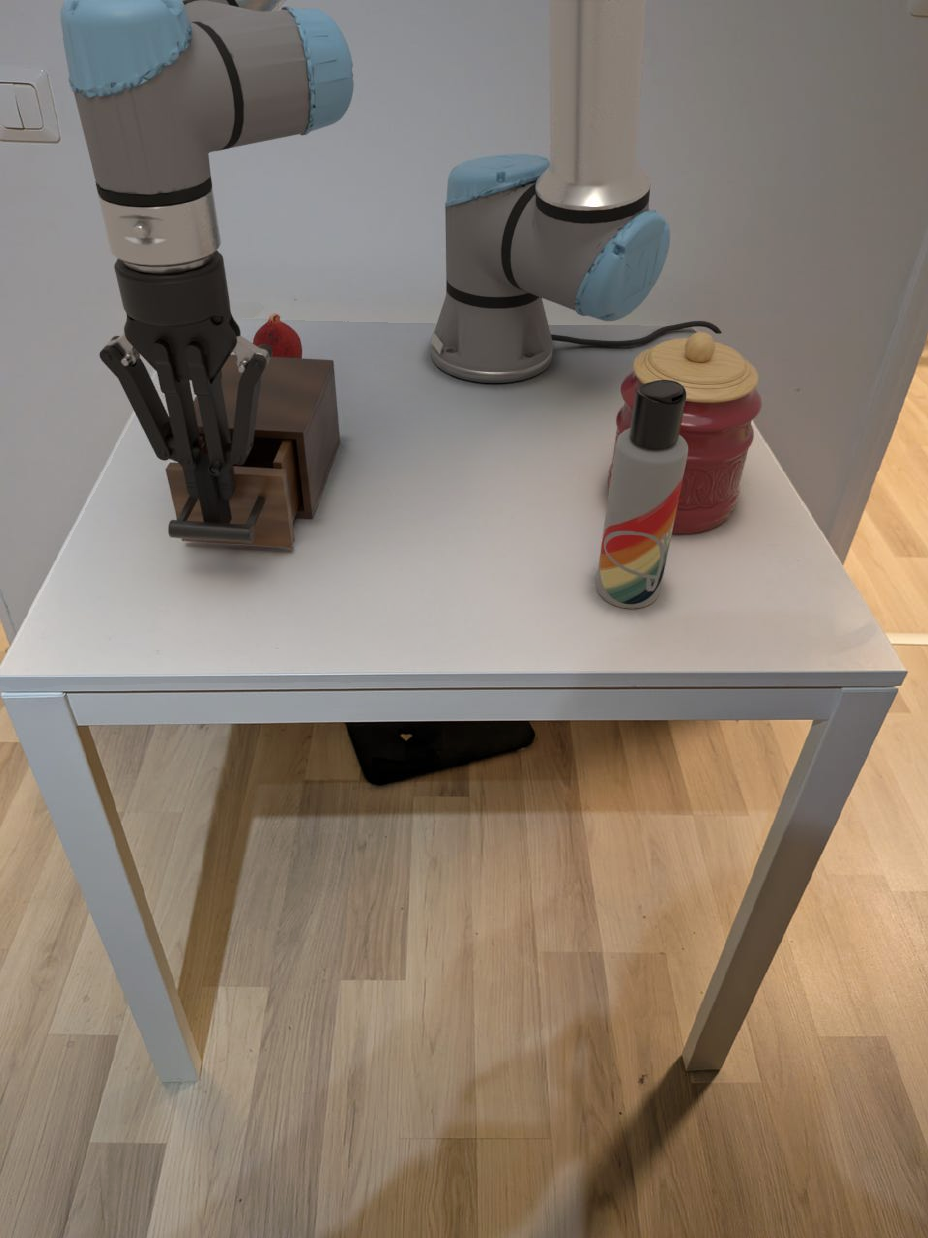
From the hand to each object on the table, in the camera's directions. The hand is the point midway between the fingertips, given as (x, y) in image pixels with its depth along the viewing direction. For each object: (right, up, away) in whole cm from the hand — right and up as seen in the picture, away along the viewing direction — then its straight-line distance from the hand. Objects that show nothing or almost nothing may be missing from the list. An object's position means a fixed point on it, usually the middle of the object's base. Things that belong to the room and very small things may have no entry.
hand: (219, 526), depth 81 cm
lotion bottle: (+36, -6, +3) cm, 37 cm away
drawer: (+1, +1, +8) cm, 8 cm away
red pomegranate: (-1, +21, +31) cm, 38 cm away
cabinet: (+1, +7, +15) cm, 17 cm away
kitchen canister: (+42, +4, +13) cm, 45 cm away
